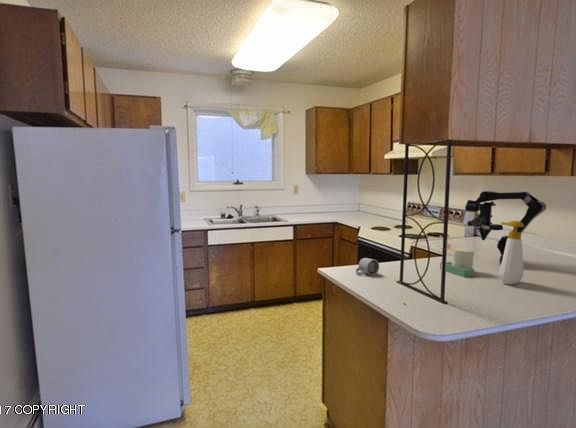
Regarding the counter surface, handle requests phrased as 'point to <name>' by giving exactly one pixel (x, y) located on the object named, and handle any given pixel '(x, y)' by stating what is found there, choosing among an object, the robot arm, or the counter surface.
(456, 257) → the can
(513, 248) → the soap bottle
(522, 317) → the counter surface
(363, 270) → the ceramic mug
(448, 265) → the green piece
